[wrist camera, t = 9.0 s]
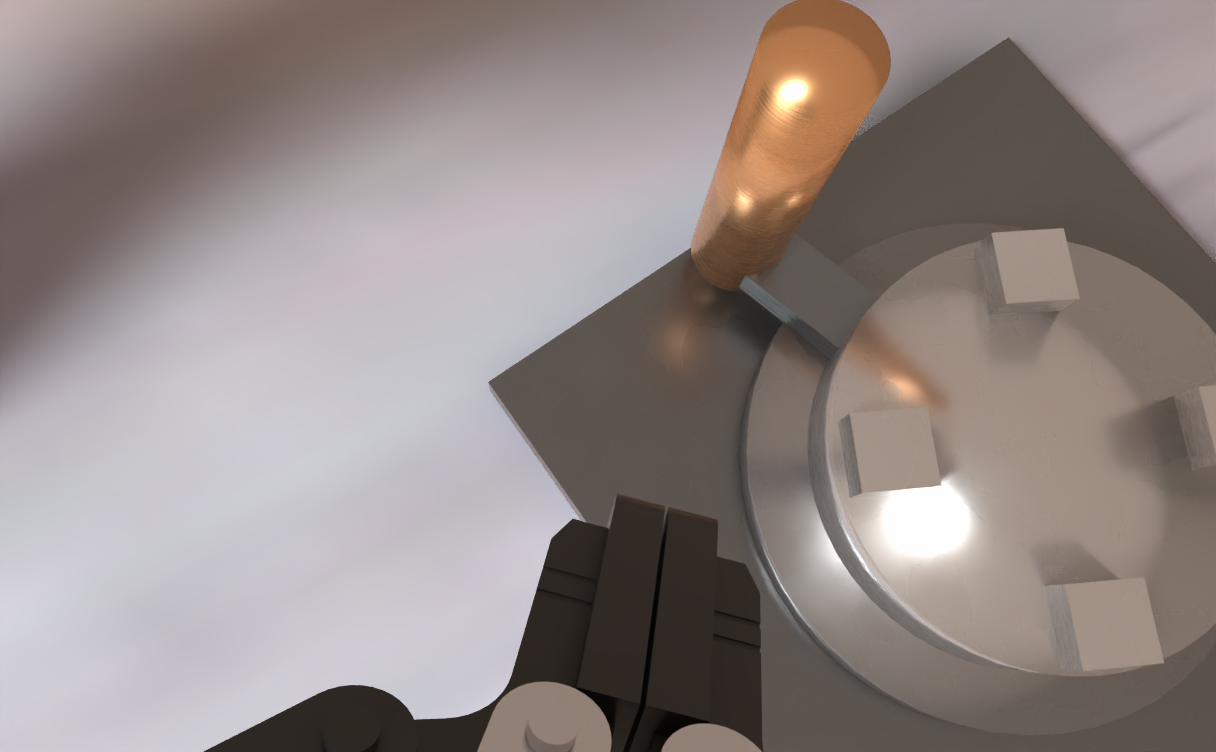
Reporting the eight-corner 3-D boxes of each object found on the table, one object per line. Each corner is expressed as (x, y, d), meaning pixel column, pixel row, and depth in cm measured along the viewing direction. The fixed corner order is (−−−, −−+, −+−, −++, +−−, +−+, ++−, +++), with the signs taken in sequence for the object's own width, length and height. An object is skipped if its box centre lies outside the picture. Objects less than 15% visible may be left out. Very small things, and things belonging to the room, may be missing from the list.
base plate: (491, 392, 35) (484, 371, 32) (992, 58, 40) (1026, 14, 37) (933, 1022, 30) (973, 1065, 27) (1441, 554, 35) (1520, 549, 32)
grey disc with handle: (1271, 438, 33) (1662, 339, 21) (1063, 763, 29) (1389, 857, 18) (812, 97, 35) (934, -158, 24) (577, 361, 32) (584, 216, 21)
